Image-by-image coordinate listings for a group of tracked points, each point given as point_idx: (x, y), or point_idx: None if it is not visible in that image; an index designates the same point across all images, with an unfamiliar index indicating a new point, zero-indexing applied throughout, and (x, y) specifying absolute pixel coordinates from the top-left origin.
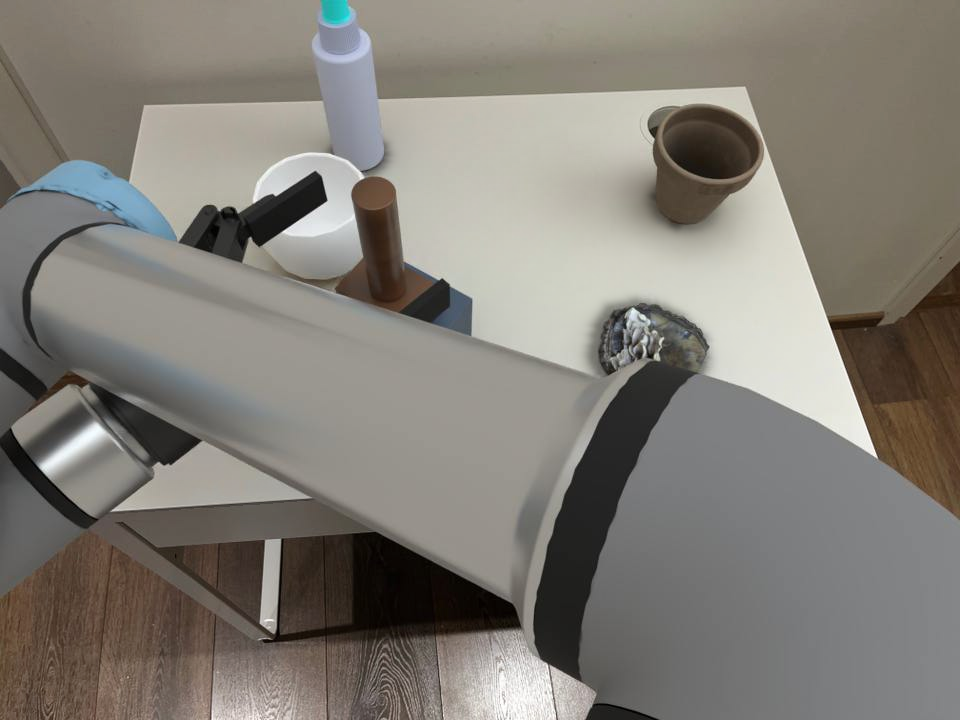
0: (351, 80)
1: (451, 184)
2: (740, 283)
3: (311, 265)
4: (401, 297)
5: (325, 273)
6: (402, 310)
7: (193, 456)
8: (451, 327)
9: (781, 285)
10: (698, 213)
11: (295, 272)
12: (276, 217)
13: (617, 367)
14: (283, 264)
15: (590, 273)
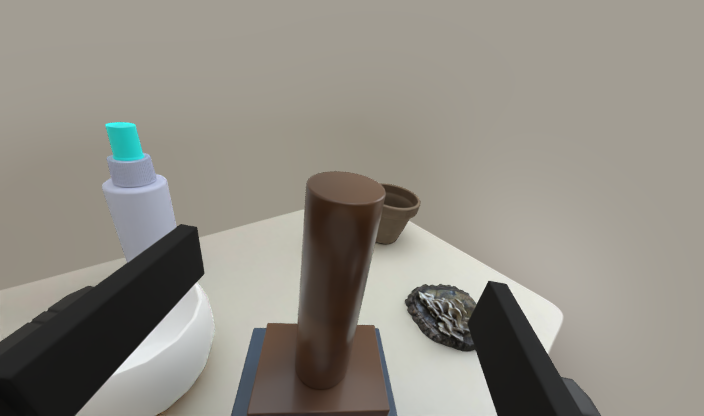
0: (153, 207)
1: (250, 272)
2: (437, 258)
3: (147, 402)
4: (348, 365)
5: (167, 401)
6: (536, 367)
7: None
8: (387, 370)
9: (450, 252)
10: (399, 233)
11: None
12: (109, 329)
13: (449, 333)
14: None
15: (374, 286)
